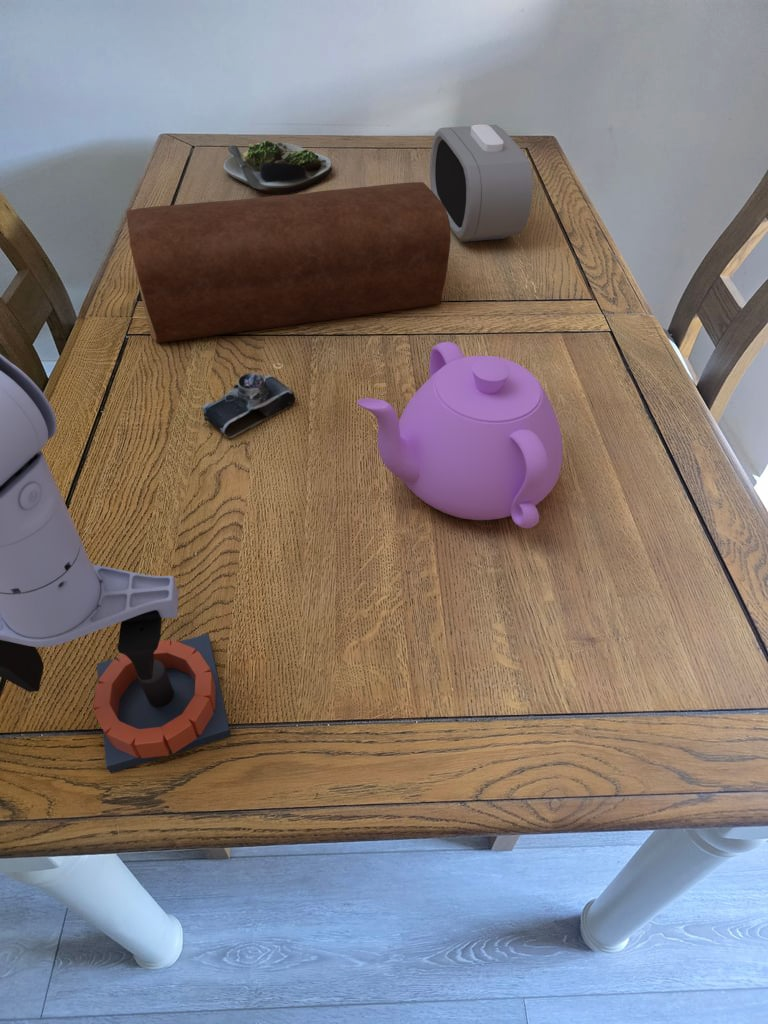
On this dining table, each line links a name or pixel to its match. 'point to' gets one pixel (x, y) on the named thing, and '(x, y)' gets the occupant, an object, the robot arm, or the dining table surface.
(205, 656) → the ring stacking peg
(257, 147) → the salad plate
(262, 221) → the bread
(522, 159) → the alarm clock
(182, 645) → the segmented red ring
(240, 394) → the camera
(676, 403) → the dining table surface
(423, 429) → the teapot
